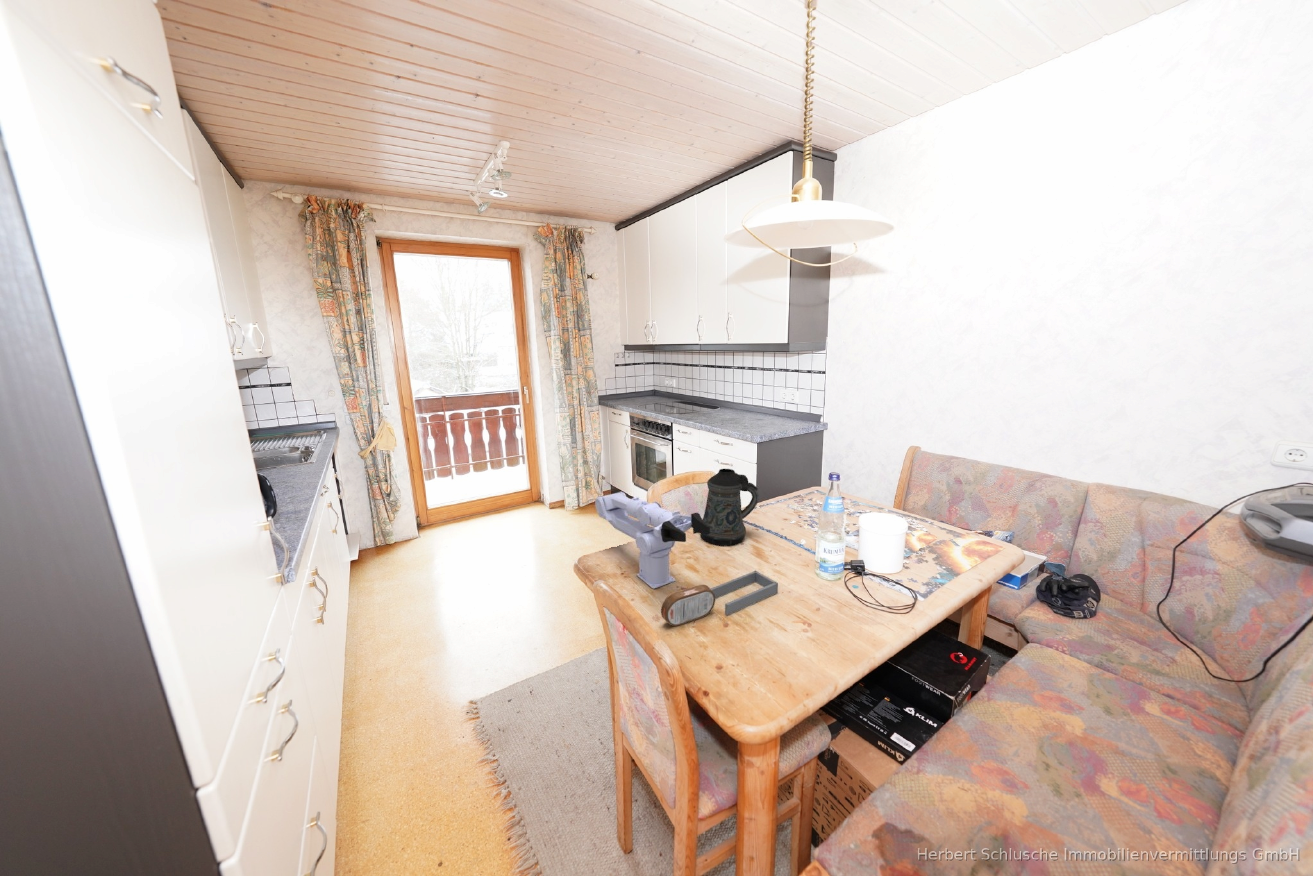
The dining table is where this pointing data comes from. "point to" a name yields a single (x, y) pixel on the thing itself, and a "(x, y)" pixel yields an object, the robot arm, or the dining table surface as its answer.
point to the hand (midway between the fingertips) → (697, 534)
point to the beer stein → (727, 508)
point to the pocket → (749, 599)
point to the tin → (688, 605)
